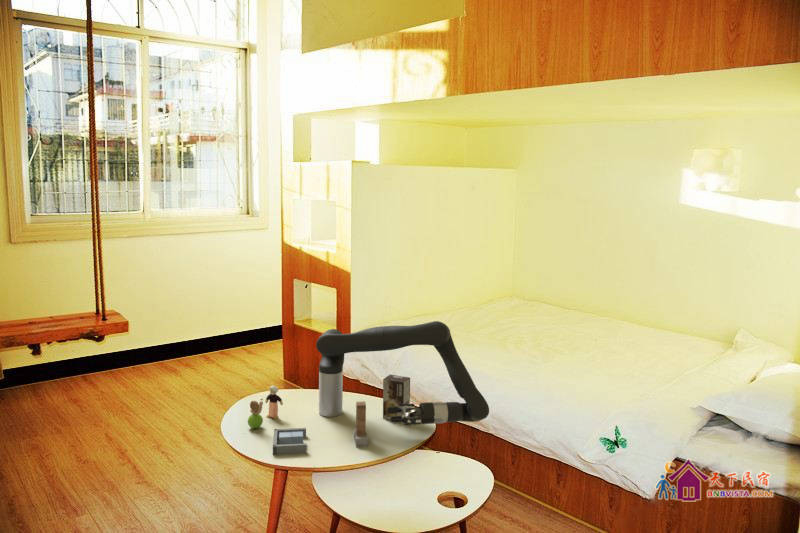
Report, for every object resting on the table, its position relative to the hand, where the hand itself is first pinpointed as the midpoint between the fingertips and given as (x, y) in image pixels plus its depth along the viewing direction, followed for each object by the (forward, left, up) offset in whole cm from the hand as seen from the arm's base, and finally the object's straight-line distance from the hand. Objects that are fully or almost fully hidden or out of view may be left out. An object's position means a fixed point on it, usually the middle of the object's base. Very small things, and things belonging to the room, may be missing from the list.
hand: (388, 414), depth 218 cm
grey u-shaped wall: (0, -34, -9) cm, 35 cm away
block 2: (0, -32, -9) cm, 33 cm away
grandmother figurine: (-26, -41, -10) cm, 50 cm away
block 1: (0, -36, -9) cm, 37 cm away
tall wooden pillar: (0, -10, -9) cm, 14 cm away
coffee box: (-20, +6, -10) cm, 23 cm away
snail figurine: (-16, -47, -10) cm, 51 cm away
